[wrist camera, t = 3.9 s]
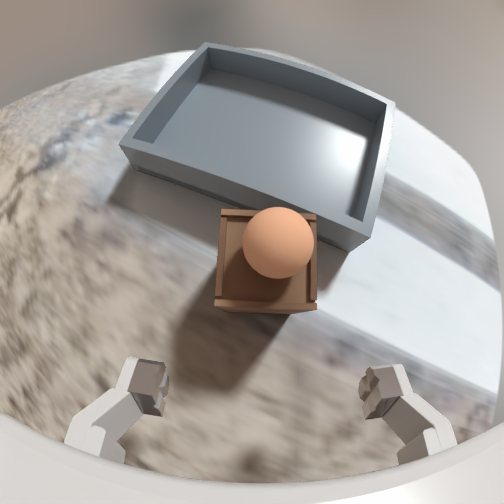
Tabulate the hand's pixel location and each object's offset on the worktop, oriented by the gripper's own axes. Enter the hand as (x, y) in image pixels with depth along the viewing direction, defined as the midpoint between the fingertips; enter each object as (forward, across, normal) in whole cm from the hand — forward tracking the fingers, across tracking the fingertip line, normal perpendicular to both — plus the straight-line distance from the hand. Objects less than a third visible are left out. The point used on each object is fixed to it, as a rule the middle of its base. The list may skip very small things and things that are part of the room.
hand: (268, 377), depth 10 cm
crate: (+10, 0, +3) cm, 10 cm away
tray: (+19, 0, -6) cm, 20 cm away
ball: (+4, 0, -4) cm, 6 cm away
